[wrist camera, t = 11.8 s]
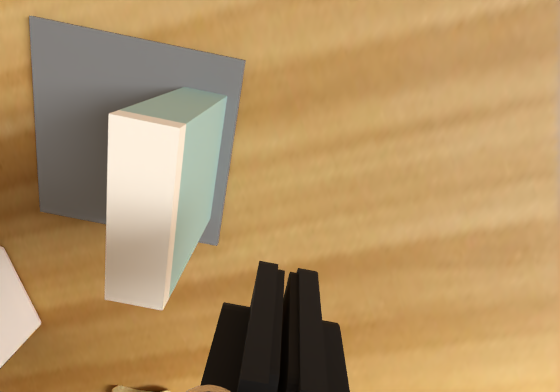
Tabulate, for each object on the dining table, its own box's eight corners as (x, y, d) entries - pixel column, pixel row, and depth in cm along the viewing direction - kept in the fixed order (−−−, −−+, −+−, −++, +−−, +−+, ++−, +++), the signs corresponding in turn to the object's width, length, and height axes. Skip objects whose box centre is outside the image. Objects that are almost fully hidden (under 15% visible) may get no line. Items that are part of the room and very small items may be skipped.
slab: (227, 95, 22) (179, 128, 13) (210, 218, 25) (162, 310, 16) (184, 86, 21) (108, 113, 13) (172, 211, 24) (104, 299, 16)
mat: (245, 60, 21) (244, 60, 21) (218, 242, 26) (217, 245, 25) (33, 16, 21) (29, 15, 20) (43, 208, 25) (40, 211, 25)
